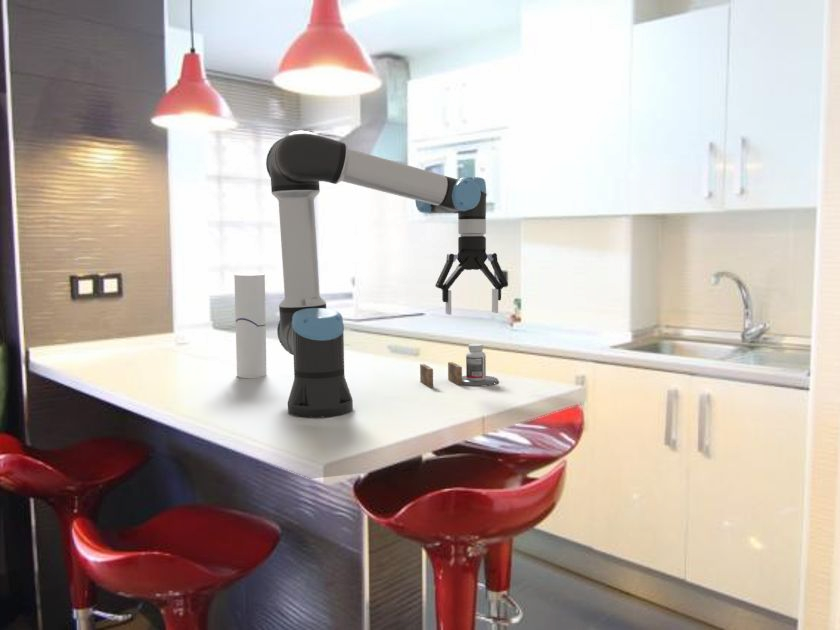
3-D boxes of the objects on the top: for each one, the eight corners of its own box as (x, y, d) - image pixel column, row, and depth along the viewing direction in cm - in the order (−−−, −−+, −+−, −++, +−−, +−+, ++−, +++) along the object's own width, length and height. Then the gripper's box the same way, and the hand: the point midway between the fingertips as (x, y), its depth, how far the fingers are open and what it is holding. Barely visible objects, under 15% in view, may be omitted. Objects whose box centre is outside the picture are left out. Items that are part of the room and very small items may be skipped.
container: (256, 379, 203) (254, 275, 198) (231, 376, 205) (228, 274, 201) (271, 372, 211) (270, 273, 206) (247, 370, 213) (244, 272, 209)
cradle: (462, 385, 190) (461, 366, 189) (428, 387, 187) (428, 369, 187) (452, 379, 198) (452, 362, 197) (420, 381, 195) (420, 364, 194)
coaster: (504, 384, 190) (504, 382, 190) (463, 387, 187) (463, 385, 187) (488, 376, 202) (488, 374, 202) (448, 379, 198) (448, 377, 198)
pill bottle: (472, 376, 198) (472, 342, 197) (489, 378, 195) (489, 344, 194) (462, 380, 194) (462, 345, 192) (479, 382, 190) (479, 346, 189)
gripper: (508, 235, 197) (508, 310, 199) (424, 235, 190) (424, 313, 192) (520, 235, 190) (519, 313, 192) (432, 235, 183) (432, 316, 185)
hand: (471, 313), depth 192 cm, fingers open, 13 cm apart
